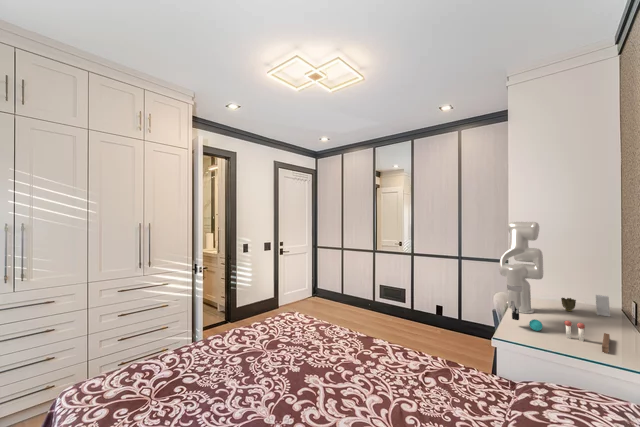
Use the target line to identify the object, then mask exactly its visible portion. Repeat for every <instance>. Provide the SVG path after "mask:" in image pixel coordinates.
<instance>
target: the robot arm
mask: <svg viewBox="0 0 640 427" xmlns="http://www.w3.org/2000/svg"><path fill="white" fill-rule="evenodd" d="M507 230H508V233H509V242H508V249H507V250H506V251H505V252H504V253H502V255H501V257H500V260H499V268H498V270H499V274H500V275H501V276H502V277H506V291H508V292H507V293H508V294H507V301H506V305H507V307H508V308H511V319H512V320H515V321H520V313H521V314H533V313H534V312H535V309H534V308H532V298H531V296H532V295H531V294H532V293H531V285H530V282H529V281H528V280H530V279H531V280H542V279H543V278H544V258H543V257H544V256H543V252H542V250H541V249H540V248H535V247H529V241H531V242H532V241H536V240H537V239H538V238H539V234H540V224H539V223H538V222H537V221H512V222H509V223H507ZM512 257H513V259H514V260H515V261H516V262H522V263H513V264H507V263H506V262H507V260H508V259H509V258H512ZM524 262H525V263H524ZM529 263H530V264H529ZM531 263H533V264H531ZM527 279H528V280H527Z"/></svg>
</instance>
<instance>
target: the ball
mask: <svg viewBox="0 0 640 427" xmlns="http://www.w3.org/2000/svg"><path fill="white" fill-rule="evenodd" d="M528 324H529V325H528V326H529V327H530V329H532V330H533V331H535V332H537V331H538V332H539V331H541V330H543V324H542V321H540V320H538V319H536V318H535V319H534V318H533V319H531V320H530V321H529V323H528Z"/></svg>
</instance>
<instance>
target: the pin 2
mask: <svg viewBox="0 0 640 427" xmlns="http://www.w3.org/2000/svg"><path fill="white" fill-rule="evenodd" d="M576 326H577V329H578V341H580V342H585V330H584V329H585V328H586V325H585V324H584V323H582V322H578V323H577V324H576Z"/></svg>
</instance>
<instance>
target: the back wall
mask: <svg viewBox="0 0 640 427" xmlns="http://www.w3.org/2000/svg"><path fill="white" fill-rule="evenodd" d="M610 340H611V336H610V333H605V332H603V338H602V343H601V350H602V351H601V353H602V352H604V353H603V354H607V353H608V354H609V352H608V351H610V350H609V349H610Z"/></svg>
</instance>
